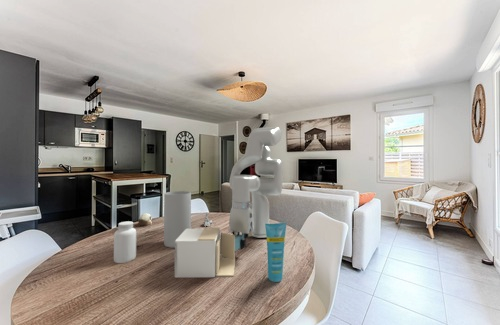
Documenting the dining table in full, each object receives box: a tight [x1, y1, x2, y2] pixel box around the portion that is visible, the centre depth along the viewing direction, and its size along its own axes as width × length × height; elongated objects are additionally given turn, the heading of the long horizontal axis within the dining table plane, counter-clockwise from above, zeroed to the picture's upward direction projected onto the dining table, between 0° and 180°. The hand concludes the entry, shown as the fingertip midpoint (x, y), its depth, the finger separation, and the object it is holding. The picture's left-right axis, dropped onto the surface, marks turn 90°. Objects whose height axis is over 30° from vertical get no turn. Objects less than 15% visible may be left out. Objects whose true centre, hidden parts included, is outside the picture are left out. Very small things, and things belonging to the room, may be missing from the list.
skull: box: [134, 212, 153, 227], centre depth 131 cm, size 12×10×10 cm
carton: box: [174, 227, 236, 278], centre depth 79 cm, size 20×14×13 cm
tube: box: [265, 222, 287, 283], centre depth 72 cm, size 7×5×19 cm, turn 103°
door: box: [220, 232, 242, 261], centre depth 88 cm, size 8×7×10 cm
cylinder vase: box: [163, 190, 192, 249], centre depth 103 cm, size 12×12×25 cm
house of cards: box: [202, 213, 213, 227], centre depth 134 cm, size 9×9×8 cm
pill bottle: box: [113, 220, 137, 264], centre depth 85 cm, size 8×8×15 cm
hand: (240, 247), depth 89 cm, fingers closed
